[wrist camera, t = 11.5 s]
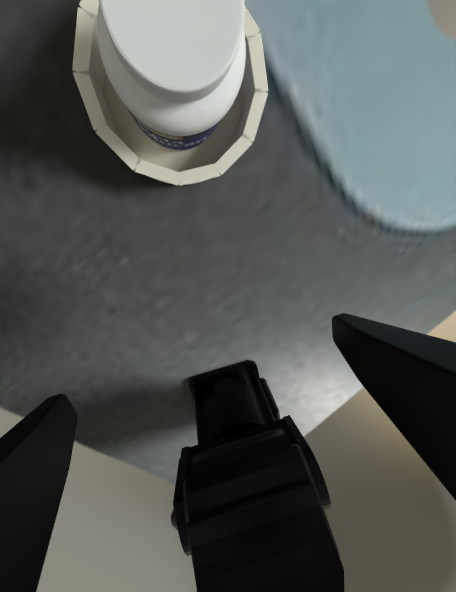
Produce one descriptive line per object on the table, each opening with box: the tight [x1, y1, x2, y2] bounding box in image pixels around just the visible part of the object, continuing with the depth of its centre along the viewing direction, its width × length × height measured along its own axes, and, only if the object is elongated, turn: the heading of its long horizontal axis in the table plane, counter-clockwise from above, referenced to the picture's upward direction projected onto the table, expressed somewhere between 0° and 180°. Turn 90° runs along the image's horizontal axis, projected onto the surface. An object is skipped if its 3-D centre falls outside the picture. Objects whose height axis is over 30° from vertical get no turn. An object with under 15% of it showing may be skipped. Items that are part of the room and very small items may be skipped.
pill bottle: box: [97, 0, 246, 151], centre depth 12 cm, size 5×5×10 cm
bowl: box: [72, 0, 268, 186], centre depth 15 cm, size 10×10×4 cm
